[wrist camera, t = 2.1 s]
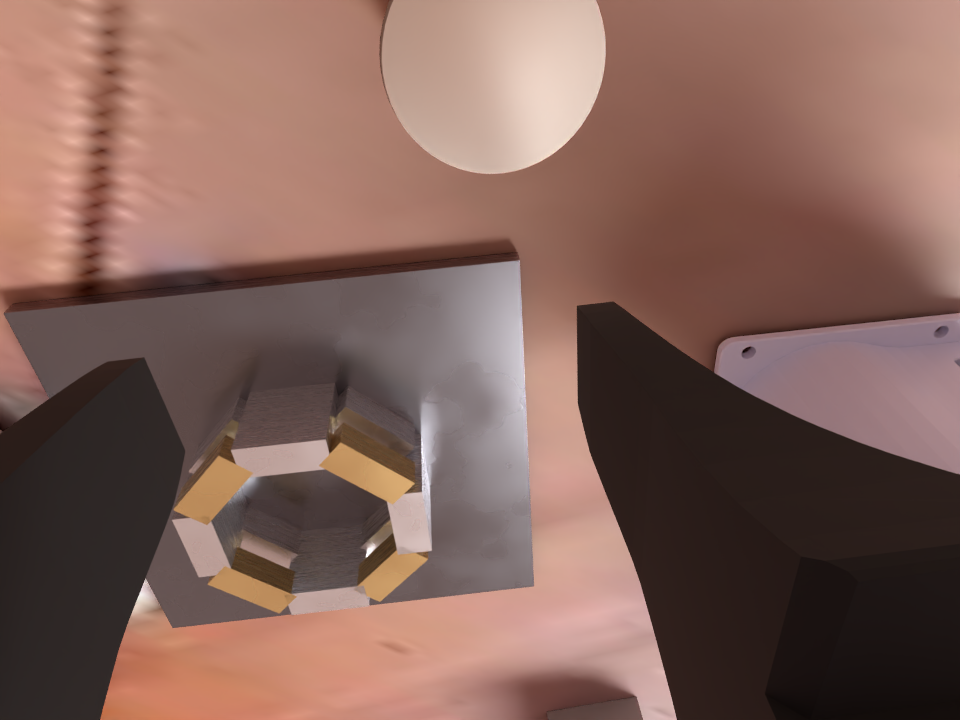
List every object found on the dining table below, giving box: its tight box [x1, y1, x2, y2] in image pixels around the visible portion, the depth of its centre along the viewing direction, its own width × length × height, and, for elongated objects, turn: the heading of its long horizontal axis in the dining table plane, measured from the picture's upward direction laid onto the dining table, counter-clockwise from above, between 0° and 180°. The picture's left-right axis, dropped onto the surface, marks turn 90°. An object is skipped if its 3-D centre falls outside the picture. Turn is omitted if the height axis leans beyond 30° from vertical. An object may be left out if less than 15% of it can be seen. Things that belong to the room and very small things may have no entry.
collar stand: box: [4, 252, 534, 628], centre depth 25 cm, size 16×16×4 cm
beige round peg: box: [380, 0, 606, 174], centre depth 15 cm, size 4×4×7 cm
